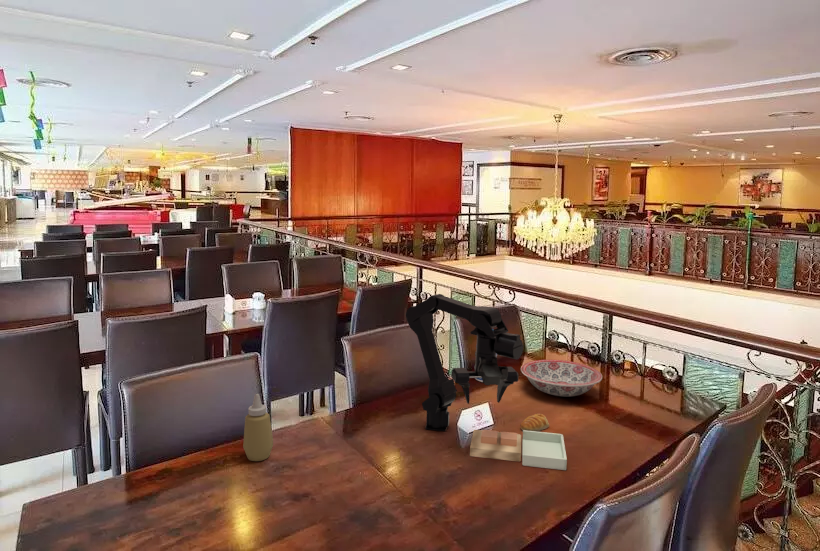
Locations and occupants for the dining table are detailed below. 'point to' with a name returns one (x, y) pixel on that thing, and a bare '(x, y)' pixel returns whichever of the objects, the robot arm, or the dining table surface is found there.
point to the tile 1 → (489, 436)
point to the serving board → (494, 448)
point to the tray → (544, 450)
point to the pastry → (535, 423)
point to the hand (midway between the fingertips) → (483, 402)
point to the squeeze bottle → (257, 432)
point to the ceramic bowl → (561, 376)
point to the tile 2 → (508, 438)
